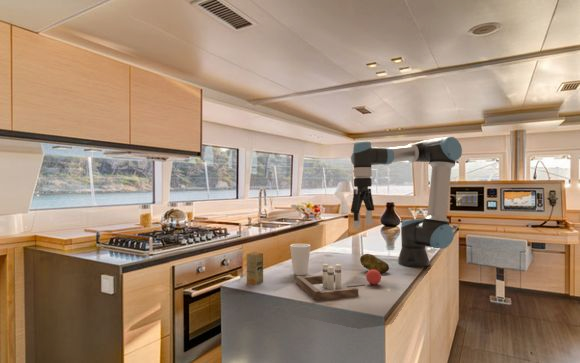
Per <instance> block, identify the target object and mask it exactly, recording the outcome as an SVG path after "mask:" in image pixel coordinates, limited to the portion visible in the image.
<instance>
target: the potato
mask: <svg viewBox="0 0 580 363" xmlns="http://www.w3.org/2000/svg"><path fill="white" fill-rule="evenodd" d="M359 260H360V264H361V265H362V266H363V268H365V269H367V270H368V271H369V270H372V269H374V270H377V271H378V272H379V273H380V274H383V273H387V272H388V271H389V270H390V267H389V266H390V265H389V264H388V263H387V262H386V261H384V260H381V259H380V258H378V257H377V256H375V255H374V254H371V253H365V254H363V255H361V256H360V258H359Z"/></svg>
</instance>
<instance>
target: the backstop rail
mask: <svg viewBox="0 0 580 363" xmlns="http://www.w3.org/2000/svg"><path fill="white" fill-rule="evenodd" d="M295 280H296V281H295V283H296V285H297V286H298V287H300V288H301V289H302V290H303V291H304V292H305V291H306V294H308V295H309V296H310V297H311V298H312V297H313V298H314V299H313V298H312V299H313V300H315V301H321V300H323V301H324V300H331V299H332V300H333V299H339V298H340V299H341V298H348V297H357V296H359V288H358V287H347V288H341V289H334V290H328V289H327V290H320V289H318V288H317V287H316V286H315V285H313V284H315V283H316V284H317V283H323V274H320V275H318V274H317V275H308V276H303V275H296V276H295ZM334 282H335V274H334Z"/></svg>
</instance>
